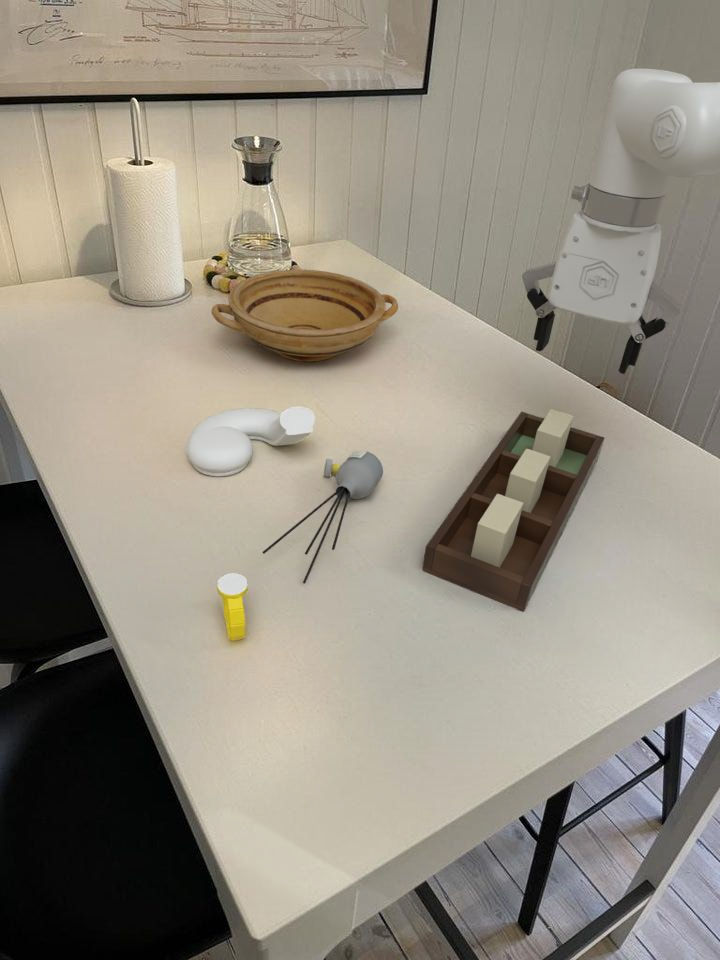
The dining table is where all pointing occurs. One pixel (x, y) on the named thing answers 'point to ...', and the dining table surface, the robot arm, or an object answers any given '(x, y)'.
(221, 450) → the sculpture
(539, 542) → the tray
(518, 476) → the block
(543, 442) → the cream rectangular block
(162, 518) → the dining table surface
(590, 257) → the robot arm
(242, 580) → the watch
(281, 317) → the ceramic bowl
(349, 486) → the reed diffuser
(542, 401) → the dining table surface
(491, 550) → the block
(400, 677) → the dining table surface
